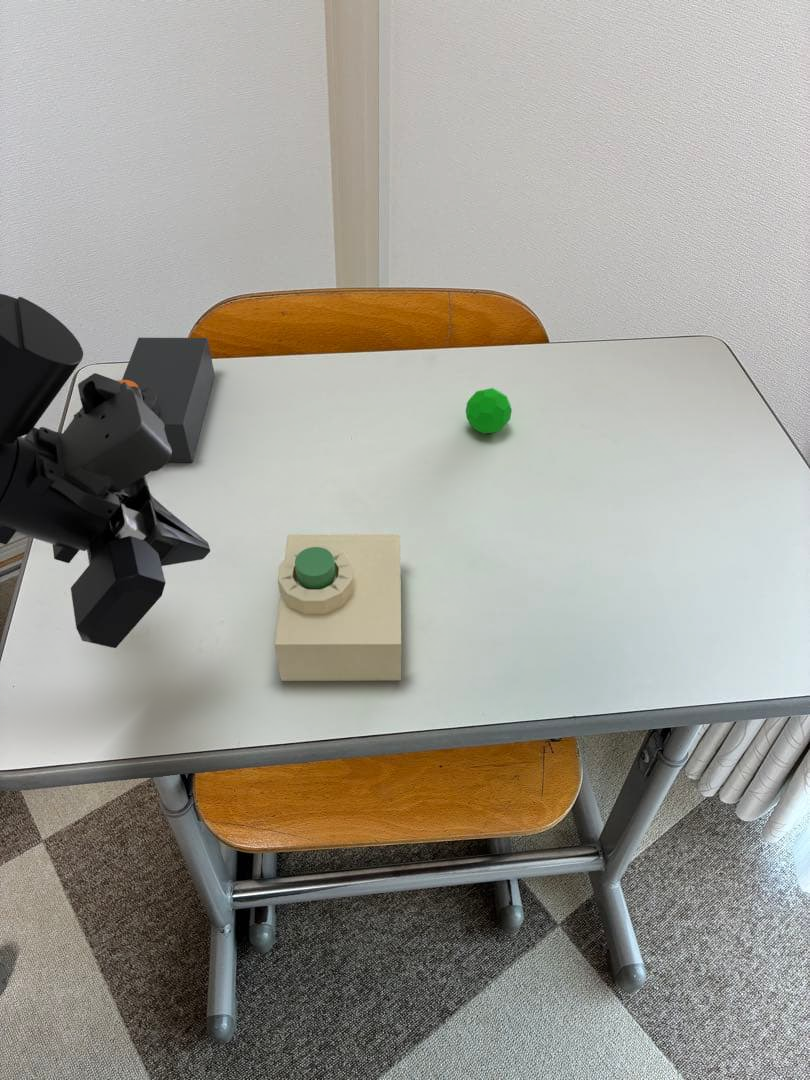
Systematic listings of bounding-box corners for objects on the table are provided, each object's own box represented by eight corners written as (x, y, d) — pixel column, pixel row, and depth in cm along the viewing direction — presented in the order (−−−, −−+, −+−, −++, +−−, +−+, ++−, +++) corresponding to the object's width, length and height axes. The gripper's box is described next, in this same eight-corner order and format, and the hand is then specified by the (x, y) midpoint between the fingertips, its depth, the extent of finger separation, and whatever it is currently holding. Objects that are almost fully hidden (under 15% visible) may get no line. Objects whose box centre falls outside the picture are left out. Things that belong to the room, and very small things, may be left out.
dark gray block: (101, 473, 84) (82, 420, 79) (137, 374, 96) (123, 323, 91) (189, 473, 84) (176, 421, 79) (214, 375, 96) (205, 323, 91)
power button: (295, 590, 65) (293, 576, 63) (298, 560, 67) (296, 546, 66) (334, 589, 65) (333, 576, 63) (336, 560, 67) (335, 546, 66)
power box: (280, 681, 66) (271, 630, 61) (292, 572, 75) (285, 519, 70) (400, 680, 67) (401, 630, 61) (399, 572, 75) (400, 519, 70)
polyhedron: (475, 446, 87) (478, 411, 84) (457, 419, 91) (460, 385, 87) (516, 436, 89) (521, 401, 85) (497, 410, 92) (501, 376, 88)
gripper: (82, 482, 40) (310, 568, 51) (50, 299, 52) (241, 401, 63) (-27, 623, 43) (208, 675, 54) (-33, 422, 55) (161, 498, 66)
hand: (206, 551), depth 59 cm, fingers closed
